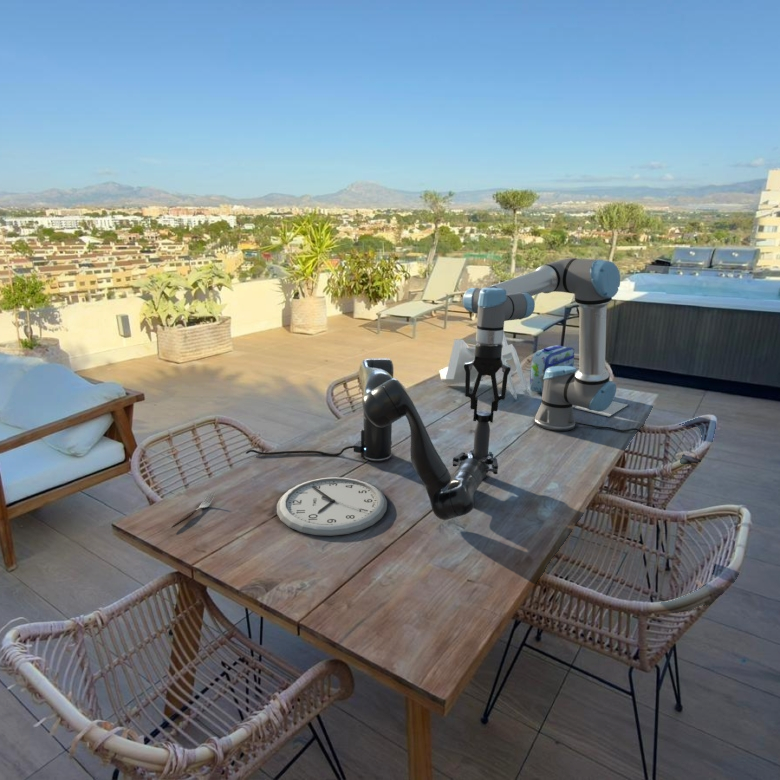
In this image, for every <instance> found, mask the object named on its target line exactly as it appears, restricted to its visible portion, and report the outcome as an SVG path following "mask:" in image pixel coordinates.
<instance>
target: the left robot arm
mask: <svg viewBox="0 0 780 780" xmlns="http://www.w3.org/2000/svg"><path fill="white" fill-rule="evenodd" d="M394 372H395V371H394V363H393V361H392V360H391V359H390V358H365V359H363V360H362V361H361V362H360V365H359V368H358V378H359V382H360V385H361V392H362V394H363V395H362V397H361V405H362V409H363V428H362V429H361V430H360V440H358V441H357V442H356V443H355V444H354V445H348V446H345V447H343V448H342V449H341V450H340V451H339V452H337V453H329V452H324V451H321V450H284V451H283V450H282V451H269V452H268V451H267V452H264V451H263V452H262V451H258V450H255V449H249V450H247V451H245V454H246V455H247V454H250V453H255V454H258V455H262V456H263V455H266V456H268V455H269V456H271V455H282V454H283V455H285V454H320V455H325V456H331V457H338V456H340V455H342V454H343V453H344V452H345V451H346V450H349V449H353V453H358V454H360V457H361V458H363V459H365V460H367V461H368V462H374V463H379V462H380V463H381V462H386V461H388V460H390V459H391V458H392V445H393V441H392V432H393V430H392V428H393V427H392V425H393V423H395V422H397V421H398V420H400V419H402V418H403V417H405V418H406V419H407V421H408V426H409V429H410V461H411V466H412V468H413V469H414V471H415V473H416V475H417V476H418V478H419V479H420V481H421V482H422V484H423V485H424V488H425V490H426V493H427V496H428V499H429V503H430V506H431V510H432V512H433V514H434V516H436V518H437V519H440V520H442V521H448V520H451V519H454V518H458V517H461V516H465V515H468V514H470V513H471V512H472V511H473V509H474V508H475V507H474V506H475V503H474V494H475V492H476V491H477V490H478V488H479V487H480V486H481V484H482V482H483V480H484V479H485V478H484V476H485V474H486V473H487V474H488V473H489V472H492V474H493V475H498V474H499V473H498V470H499V463H498V459H497V458H496V457H494V453H493V452H492V451H488V455H487V457H486V458H485V457H483V458H482V459H479V460H478V459H474V458H473V451H474V448H473V449H471V450H470V451H469V452H467V453H466V452H461V453H459V454H457V455H456V456H454V457H452V467H455V468H456V470H455V471H454V473H453V476H452V474H451V472H450V471H449V469H448V467H447V466H446V464H445V463H444V461H443V459H442V457H441V456H440V455H439V453H438V451H437V450H436V448H435V445H434V443H433V442H432V439H431V437H430V435H429V433H428V431H427V430H428V429H426V426H425V424H424V421H423V419H422V418H421V416H420V414H419V411H418V410H417V408H416V406H415V404H414V401H413V400H412V398H411V396H410V394H409V393H408V391H407V389H406V387H405V386H404V385H403V383H401V382H400V381H399V380H398V379H397V378H394ZM487 474H486V475H487ZM483 478H484V479H483ZM444 488H447V489H446V490H443V489H444ZM442 490H443V491H442Z"/></svg>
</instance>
